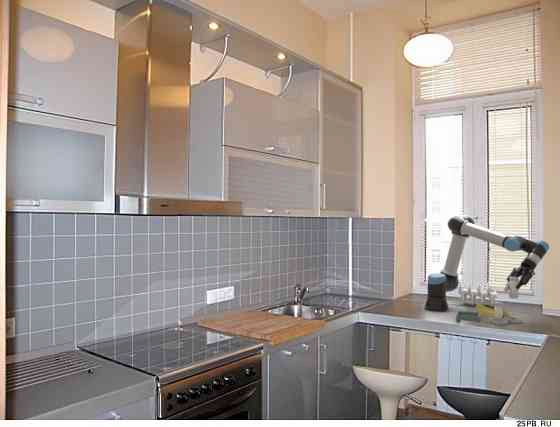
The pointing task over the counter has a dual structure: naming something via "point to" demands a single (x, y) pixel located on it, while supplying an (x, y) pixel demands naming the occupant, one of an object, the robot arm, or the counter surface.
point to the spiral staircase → (476, 293)
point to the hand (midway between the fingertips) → (508, 291)
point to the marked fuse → (512, 283)
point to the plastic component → (488, 310)
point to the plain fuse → (498, 311)
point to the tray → (467, 316)
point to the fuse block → (506, 321)
